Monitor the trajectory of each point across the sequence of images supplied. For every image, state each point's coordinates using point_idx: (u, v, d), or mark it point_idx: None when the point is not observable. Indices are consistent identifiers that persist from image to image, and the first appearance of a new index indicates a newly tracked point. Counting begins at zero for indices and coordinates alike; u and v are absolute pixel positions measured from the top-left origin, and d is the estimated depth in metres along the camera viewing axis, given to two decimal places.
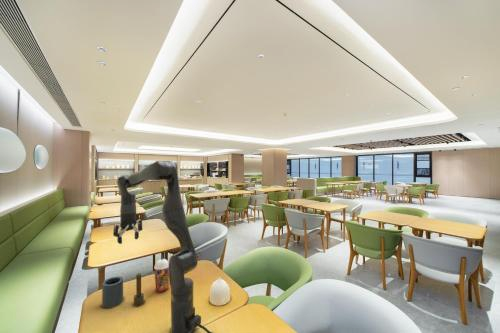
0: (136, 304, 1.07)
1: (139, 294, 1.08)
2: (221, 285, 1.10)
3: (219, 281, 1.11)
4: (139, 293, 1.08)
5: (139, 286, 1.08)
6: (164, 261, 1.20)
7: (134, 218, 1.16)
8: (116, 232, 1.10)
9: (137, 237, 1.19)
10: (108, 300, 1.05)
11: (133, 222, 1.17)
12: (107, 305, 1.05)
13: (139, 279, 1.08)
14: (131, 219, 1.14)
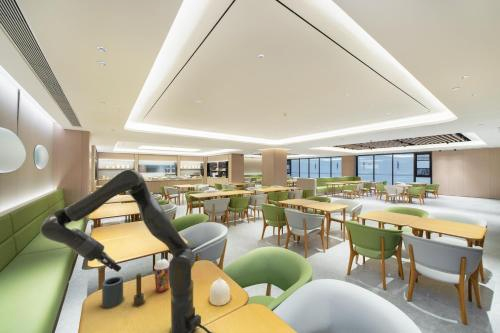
0: (136, 304, 1.07)
1: (139, 294, 1.08)
2: (221, 285, 1.10)
3: (219, 281, 1.11)
4: (139, 293, 1.08)
5: (139, 286, 1.08)
6: (164, 261, 1.20)
7: None
8: (112, 261, 0.93)
9: (113, 260, 1.03)
10: (108, 300, 1.05)
11: None
12: (107, 305, 1.05)
13: (139, 279, 1.08)
14: (102, 245, 0.96)
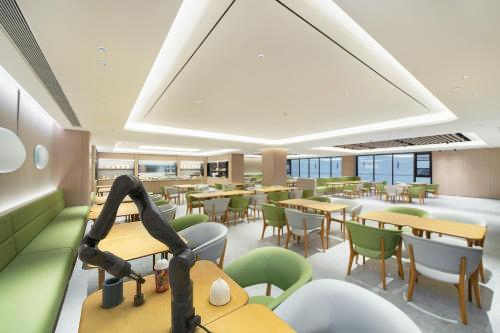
0: (136, 304, 1.07)
1: (139, 294, 1.08)
2: (221, 285, 1.10)
3: (219, 281, 1.11)
4: (139, 293, 1.08)
5: (139, 286, 1.08)
6: (164, 261, 1.20)
7: None
8: (140, 276, 1.05)
9: None
10: (108, 300, 1.05)
11: None
12: (107, 305, 1.05)
13: None
14: (129, 263, 1.05)
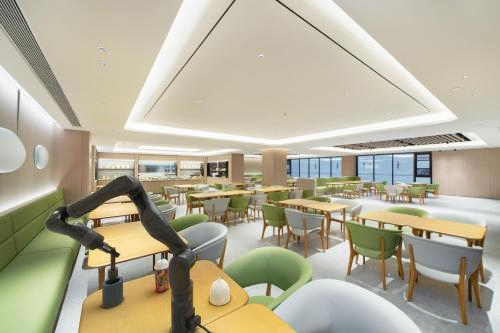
0: (110, 277, 1.07)
1: (113, 267, 1.09)
2: (221, 285, 1.10)
3: (219, 281, 1.11)
4: (113, 266, 1.09)
5: (113, 259, 1.09)
6: (164, 261, 1.20)
7: None
8: (113, 249, 1.06)
9: None
10: (108, 300, 1.05)
11: None
12: (107, 305, 1.05)
13: None
14: None
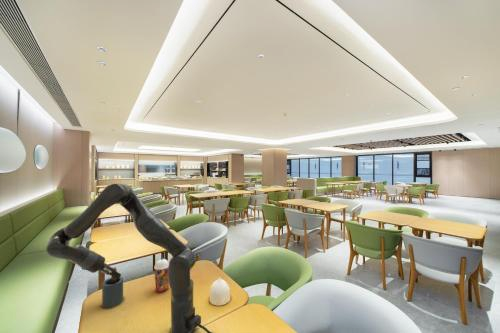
0: None
1: None
2: (221, 285, 1.10)
3: (219, 281, 1.11)
4: None
5: (114, 280, 1.08)
6: (164, 261, 1.20)
7: None
8: (114, 270, 1.05)
9: None
10: (108, 300, 1.05)
11: None
12: (107, 305, 1.05)
13: None
14: (103, 257, 1.05)
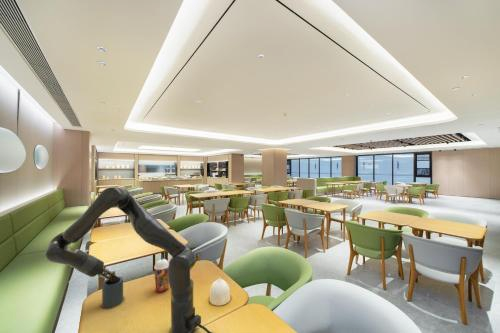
0: None
1: None
2: (221, 285, 1.10)
3: (219, 281, 1.11)
4: None
5: None
6: (164, 261, 1.20)
7: None
8: (113, 275, 1.05)
9: None
10: (108, 300, 1.05)
11: None
12: (107, 305, 1.05)
13: None
14: (102, 261, 1.06)
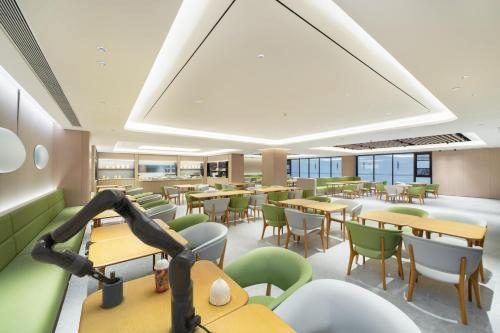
0: None
1: None
2: (221, 285, 1.10)
3: (219, 281, 1.11)
4: None
5: None
6: (164, 261, 1.20)
7: None
8: (103, 275, 1.00)
9: None
10: (108, 300, 1.05)
11: None
12: (107, 305, 1.05)
13: (113, 277, 1.09)
14: (91, 261, 1.02)
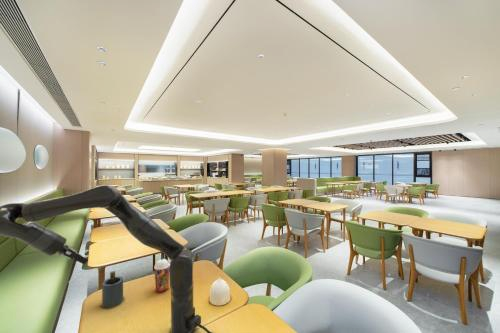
0: None
1: None
2: (221, 285, 1.10)
3: (219, 281, 1.11)
4: None
5: None
6: (164, 261, 1.20)
7: None
8: (76, 253, 0.88)
9: None
10: (108, 300, 1.05)
11: None
12: (107, 305, 1.05)
13: (113, 277, 1.09)
14: None
